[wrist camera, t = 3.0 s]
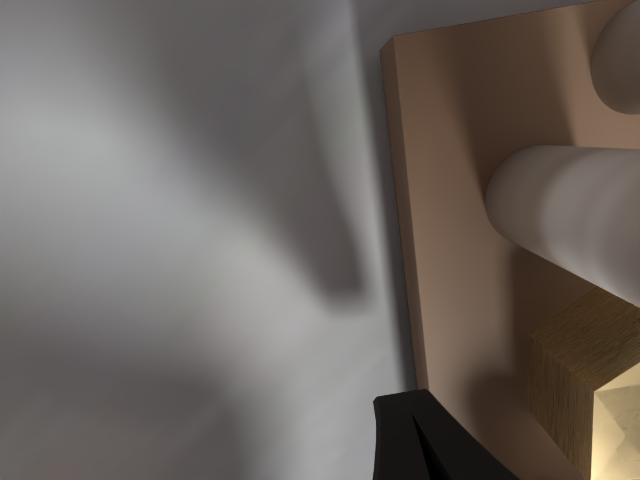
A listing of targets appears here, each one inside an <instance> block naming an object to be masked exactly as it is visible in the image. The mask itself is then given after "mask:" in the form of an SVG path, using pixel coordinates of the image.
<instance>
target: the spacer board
mask: <svg viewBox="0 0 640 480" xmlns="http://www.w3.org/2000/svg"><path fill="white" fill-rule="evenodd" d="M380 56H381V65H382V74H383V83H384V92H385V101H386V110H387V119H388V128H389V137H390V146H391V155H392V164H393V173H394V182H395V191H396V200H397V209H398V218H399V227H400V236H401V245H402V254H403V263H404V272H405V281H406V290H407V299H408V308H409V317H410V326H411V335H412V344H413V353H414V362H415V371H416V380H417V389H418V390H420V389H427V390H428V391H430V392H431V393H432V394H433V395H434V397H435V398H436V399H437V400H438V401H439V402H440V403H441V404H442V405H443V407H444V408H445V409H446V410H447V411H448V412H449V413H450V414H451V415H452V416H453V417H454V418H455V419H456V420H457V421H458V422H459V423H460V424H461V425H462V426H463V427H464V428H465V429H466V430H467V431H468V432H469V433H470V434H471V435H472V436H473V437H474V438H475V439H476V440H477V441H478V442H479V443H480V444H481V445H483V446H484V447H485V448H486V449H487V450H488V451H489V452H490V453H491V454H492V455H493V456H494V457H495V458H497V459H498V460H499V461H500V462H501V463H502V464H503V465H504V466H506V467H507V468H508V469H509V470H510V471H511V472H512V473H514V474H515V475H516V476H517V477H518V478H520V479H521V480H585V479H584V478H583V477H582V476H581V474H580V473H579V472H578V471H577V469H576V468H575V467H574V466H573V465H572V463H571V462H570V461H569V460H568V458H567V457H566V456H565V455H564V453H563V452H562V451H561V450H560V449H559V447H558V446H557V445H556V444H555V442H554V441H553V440H552V439H551V438H550V436H549V435H548V434H547V433H546V431H545V430H544V429H543V428H542V426H541V425H540V424H539V423H538V422H537V420H536V419H535V418H534V417H533V415H532V414H531V413H530V392H529V333H530V332H532V331H533V330H535V329H536V328H537V327H539V326H540V325H542V324H543V323H545V322H546V321H548V320H549V319H551V318H552V317H553V316H555V315H556V314H558V313H559V312H561V311H562V310H564V309H565V308H566V307H568V306H569V305H571V304H572V303H574V302H575V301H577V300H578V299H579V298H581V297H582V296H584V295H585V294H587V293H588V292H590V291H591V290H592V289H594V288H595V287H597V286H599V287H601V288H602V289H604V290H606V291H608V292H610V293H612V294H614V295H616V296H618V297H620V298H622V299H624V300H626V301H628V302H630V303H632V304H633V305H635V306H637V307H639V308H640V0H600V1H594V2H588V3H582V4H576V5H571V6H565V7H559V8H553V9H547V10H542V11H536V12H530V13H524V14H518V15H513V16H507V17H501V18H495V19H489V20H484V21H478V22H472V23H466V24H460V25H455V26H449V27H443V28H437V29H431V30H426V31H420V32H414V33H408V34H402V35H397V36H393V37H392V38H391V39H390V40H389V41H388V42H387V44H386V45H385V46H384V47H383V48H382V49H381V50H380Z"/></svg>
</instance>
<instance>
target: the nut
mask: <svg viewBox="0 0 640 480" xmlns="http://www.w3.org/2000/svg"><path fill="white" fill-rule="evenodd" d="M529 392H530V413H531V414H532V415H533V417H534V418H535V419H536V420H537V422H538V423H539V424H540V425H541V426H542V428H543V429H544V430H545V431H546V433H547V434H548V435H549V436H550V438H551V439H552V440H553V441H554V442H555V444H556V445H557V446H558V447H559V449H560V450H561V451H562V452H563V453H564V455H565V456H566V457H567V458H568V460H569V461H570V462H571V463H572V465H573V466H574V467H575V468H576V469H577V471H578V472H579V473H580V474H581V476H582V477H583V478H584V479H585V480H640V308H639V307H637V306H635V305H633V304H632V303H630V302H628V301H626V300H624V299H622V298H620V297H618V296H616V295H614V294H612V293H610V292H608V291H606V290H604V289H602V288H601V287H599V286H597V287H595V288H594V289H592V290H591V291H590V292H588V293H587V294H585V295H584V296H582V297H581V298H579V299H578V300H577V301H575V302H574V303H572V304H571V305H569V306H568V307H566V308H565V309H564V310H562V311H561V312H559V313H558V314H556V315H555V316H553V317H552V318H551V319H549V320H548V321H546V322H545V323H543V324H542V325H540V326H539V327H537V328H536V329H535V330H533V331H532V332H530V333H529Z"/></svg>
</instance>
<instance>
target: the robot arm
mask: <svg viewBox="0 0 640 480" xmlns="http://www.w3.org/2000/svg"><path fill="white" fill-rule="evenodd" d="M373 404H374V411H375V418H376V450H375V462H374V473H373V480H521V479H520V478H518V477H517V476H516V475H515V474H514V473H512V472H511V471H510V470H509V469H508V468H507V467H506V466H504V465H503V464H502V463H501V462H500V461H499V460H498V459H497V458H495V457H494V456H493V455H492V454H491V453H490V452H489V451H488V450H487V449H486V448H485V447H484V446H483V445H481V444H480V443H479V442H478V441H477V440H476V439H475V438H474V437H473V436H472V435H471V434H470V433H469V432H468V431H467V430H466V429H465V428H464V427H463V426H462V425H461V424H460V423H459V422H458V421H457V420H456V419H455V418H454V417H453V416H452V415H451V414H450V413H449V412H448V411H447V410H446V409H445V408H444V407H443V405H442V404H441V403H440V402H439V401H438V400H437V399H436V398H435V397H434V395H433V394H432V393H431V392H430V391H428V390H427V389H420V390H414V391H408V392H402V393H396V394H390V395H384V396H378V397H376V398H375V400H374V401H373Z"/></svg>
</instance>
